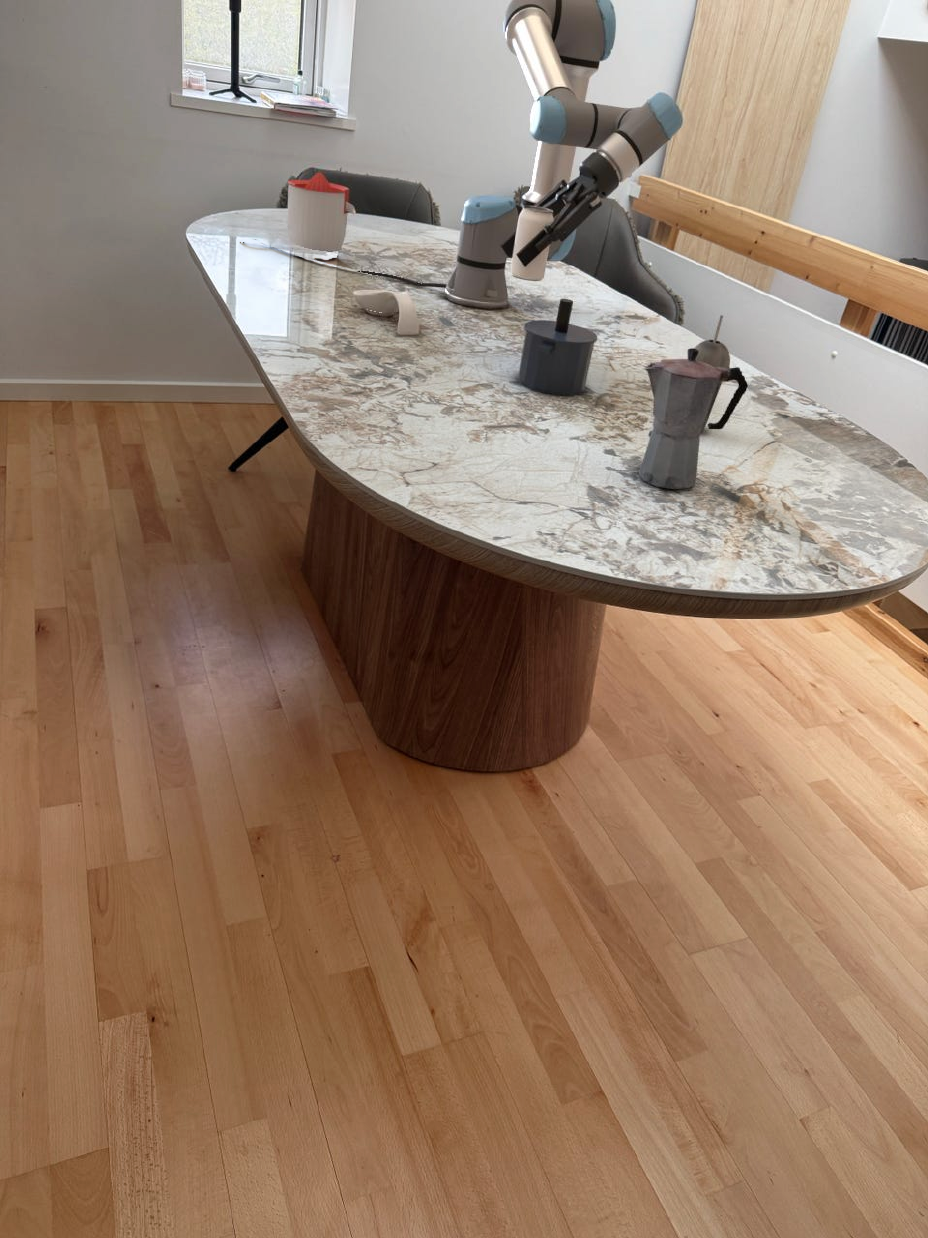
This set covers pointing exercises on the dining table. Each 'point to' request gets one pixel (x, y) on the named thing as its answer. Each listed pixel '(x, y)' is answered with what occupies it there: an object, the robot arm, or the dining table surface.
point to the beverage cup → (713, 359)
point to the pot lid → (561, 328)
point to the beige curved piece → (390, 307)
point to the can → (527, 229)
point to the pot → (554, 366)
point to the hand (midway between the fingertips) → (512, 255)
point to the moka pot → (682, 417)
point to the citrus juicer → (318, 213)
